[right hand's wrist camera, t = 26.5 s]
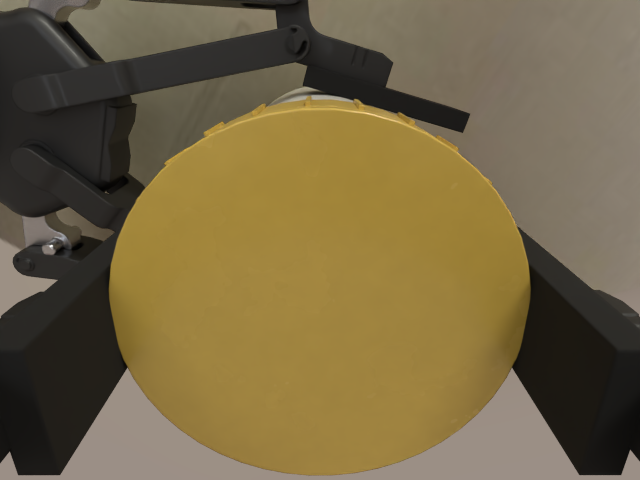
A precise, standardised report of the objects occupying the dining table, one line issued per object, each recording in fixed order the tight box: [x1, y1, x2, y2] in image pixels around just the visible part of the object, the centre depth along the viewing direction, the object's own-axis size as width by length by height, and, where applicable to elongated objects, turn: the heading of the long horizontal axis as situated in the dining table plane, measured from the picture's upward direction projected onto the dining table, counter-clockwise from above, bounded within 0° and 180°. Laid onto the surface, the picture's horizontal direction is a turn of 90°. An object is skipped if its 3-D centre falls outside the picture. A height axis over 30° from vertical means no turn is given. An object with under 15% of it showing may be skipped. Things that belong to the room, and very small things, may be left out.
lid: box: [109, 96, 531, 475], centre depth 11 cm, size 10×10×2 cm
